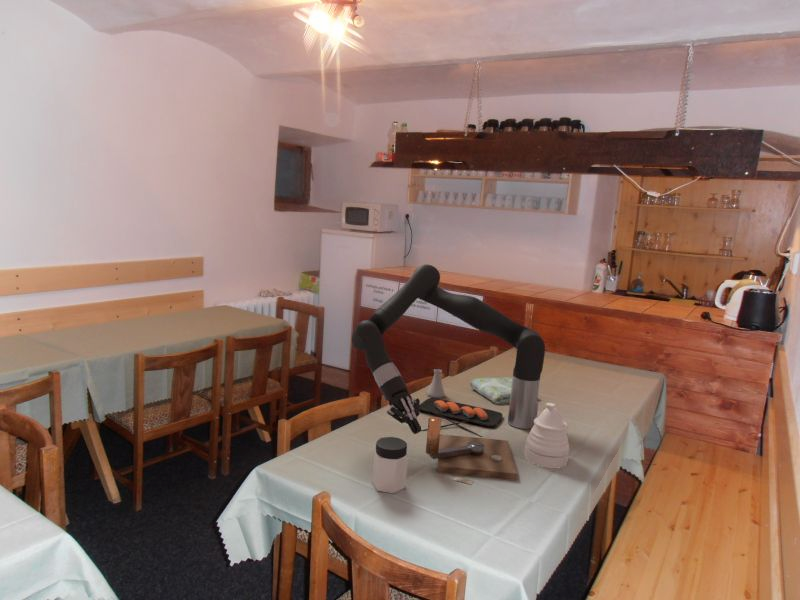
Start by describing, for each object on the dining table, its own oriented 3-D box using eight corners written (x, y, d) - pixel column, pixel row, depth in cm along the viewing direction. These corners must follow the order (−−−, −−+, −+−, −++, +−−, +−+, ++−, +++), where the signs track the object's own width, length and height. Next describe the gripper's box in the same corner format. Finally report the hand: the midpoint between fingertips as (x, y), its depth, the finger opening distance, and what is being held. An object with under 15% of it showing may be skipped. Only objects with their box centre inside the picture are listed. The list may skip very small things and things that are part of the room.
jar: (388, 474, 159) (391, 433, 157) (411, 485, 154) (414, 443, 152) (365, 485, 152) (368, 442, 150) (388, 497, 147) (392, 453, 145)
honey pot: (560, 472, 167) (568, 414, 164) (518, 459, 174) (524, 403, 171) (572, 457, 178) (580, 402, 175) (532, 445, 185) (539, 392, 182)
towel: (538, 400, 228) (540, 388, 227) (494, 406, 219) (495, 393, 218) (511, 385, 244) (512, 374, 243) (468, 390, 235) (469, 378, 234)
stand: (507, 446, 183) (508, 439, 182) (518, 489, 156) (519, 480, 156) (437, 439, 184) (438, 432, 183) (437, 481, 157) (438, 472, 157)
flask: (443, 399, 221) (446, 374, 219) (425, 396, 222) (427, 371, 220) (446, 393, 228) (448, 369, 226) (428, 390, 229) (430, 366, 227)
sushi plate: (504, 418, 208) (505, 408, 207) (480, 448, 181) (481, 437, 180) (429, 401, 219) (430, 391, 219) (396, 427, 192) (397, 416, 192)
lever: (477, 446, 175) (481, 409, 173) (487, 453, 171) (491, 416, 169) (421, 455, 167) (425, 416, 165) (430, 462, 162) (433, 423, 160)
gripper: (397, 382, 180) (424, 432, 175) (367, 391, 171) (395, 444, 165) (411, 371, 176) (440, 421, 170) (381, 379, 166) (411, 432, 161)
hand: (418, 432), depth 168 cm, fingers closed
